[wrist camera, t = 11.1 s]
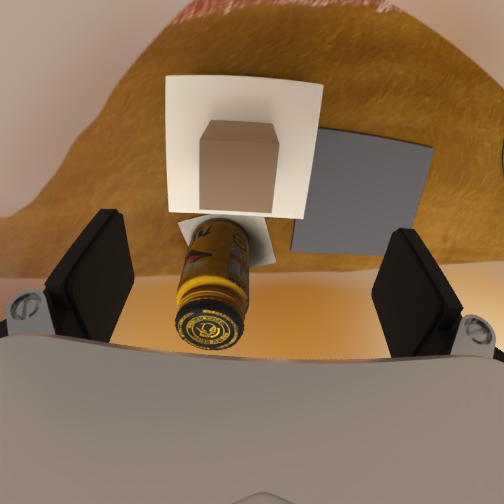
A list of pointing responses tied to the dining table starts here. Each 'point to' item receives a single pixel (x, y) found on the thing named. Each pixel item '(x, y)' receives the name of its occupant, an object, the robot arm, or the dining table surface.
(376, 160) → the mat
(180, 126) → the lid
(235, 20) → the dining table surface
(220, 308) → the condiment
